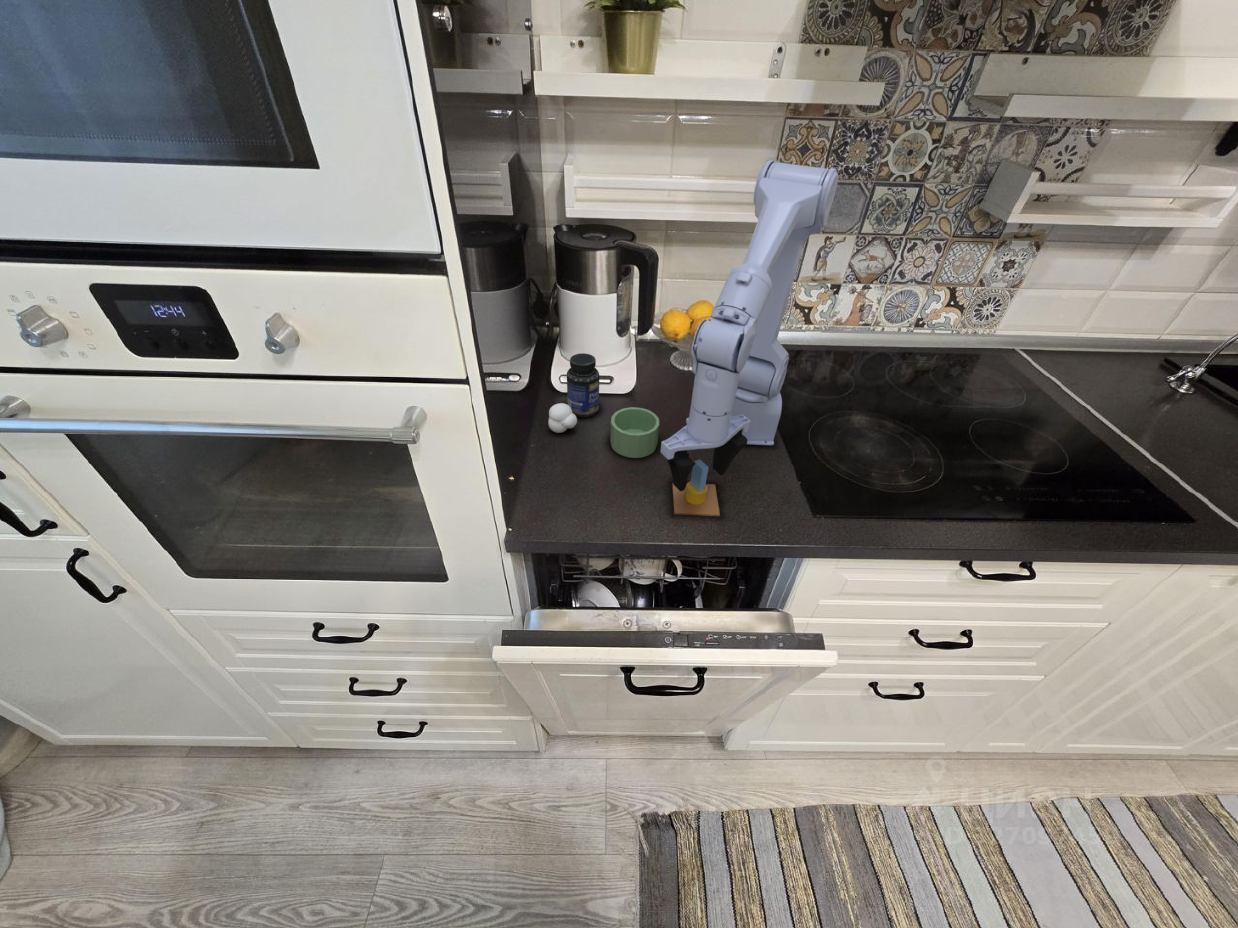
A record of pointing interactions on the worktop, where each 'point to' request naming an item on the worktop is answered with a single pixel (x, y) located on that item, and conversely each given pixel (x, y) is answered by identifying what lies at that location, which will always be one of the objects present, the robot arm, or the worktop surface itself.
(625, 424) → the green round open container
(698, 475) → the brush
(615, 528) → the worktop surface
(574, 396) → the pill bottle
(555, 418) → the microfossil shell
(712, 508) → the mat
